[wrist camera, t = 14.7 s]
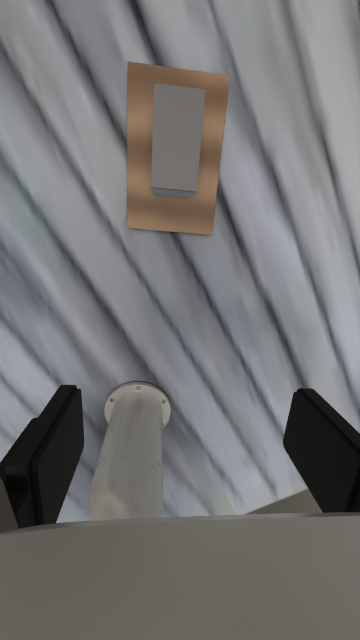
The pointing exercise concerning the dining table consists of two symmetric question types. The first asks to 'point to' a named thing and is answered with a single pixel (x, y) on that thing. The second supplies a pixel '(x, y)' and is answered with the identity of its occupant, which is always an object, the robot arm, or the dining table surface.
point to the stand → (140, 107)
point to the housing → (176, 140)
